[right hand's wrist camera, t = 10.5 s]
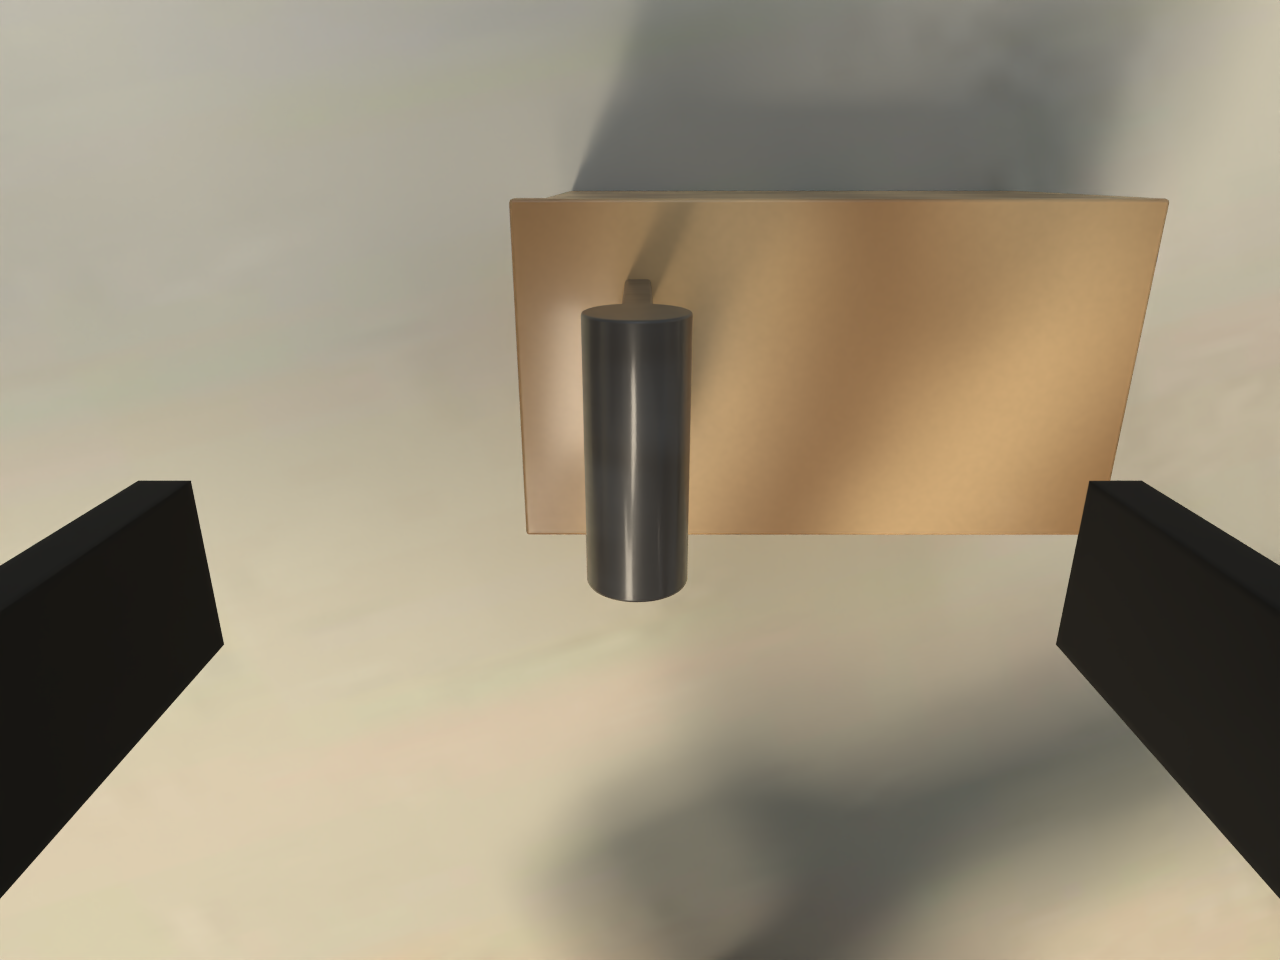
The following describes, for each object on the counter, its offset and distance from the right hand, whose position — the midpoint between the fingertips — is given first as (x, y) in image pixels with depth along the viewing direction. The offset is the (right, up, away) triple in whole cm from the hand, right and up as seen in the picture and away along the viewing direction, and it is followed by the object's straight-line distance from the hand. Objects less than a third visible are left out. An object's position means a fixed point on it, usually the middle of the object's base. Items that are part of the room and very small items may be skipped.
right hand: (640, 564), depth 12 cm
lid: (+5, +4, +12) cm, 13 cm away
